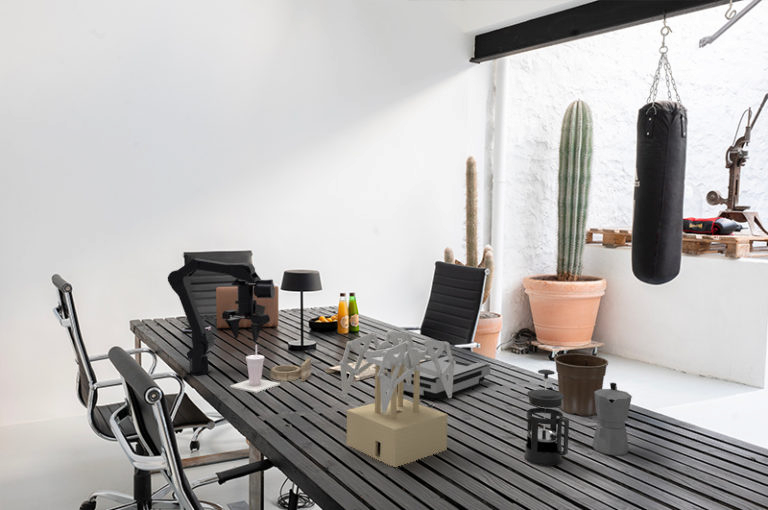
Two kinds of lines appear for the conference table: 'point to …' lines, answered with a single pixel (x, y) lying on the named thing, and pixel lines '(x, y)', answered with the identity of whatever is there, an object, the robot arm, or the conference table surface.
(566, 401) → the plant pot
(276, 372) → the segmented octagon frame
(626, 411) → the coffeepot
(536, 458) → the french press
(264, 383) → the coaster
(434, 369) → the game console
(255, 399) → the conference table surface
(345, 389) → the kinetic sculpture
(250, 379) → the smoothie
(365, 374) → the newspaper
